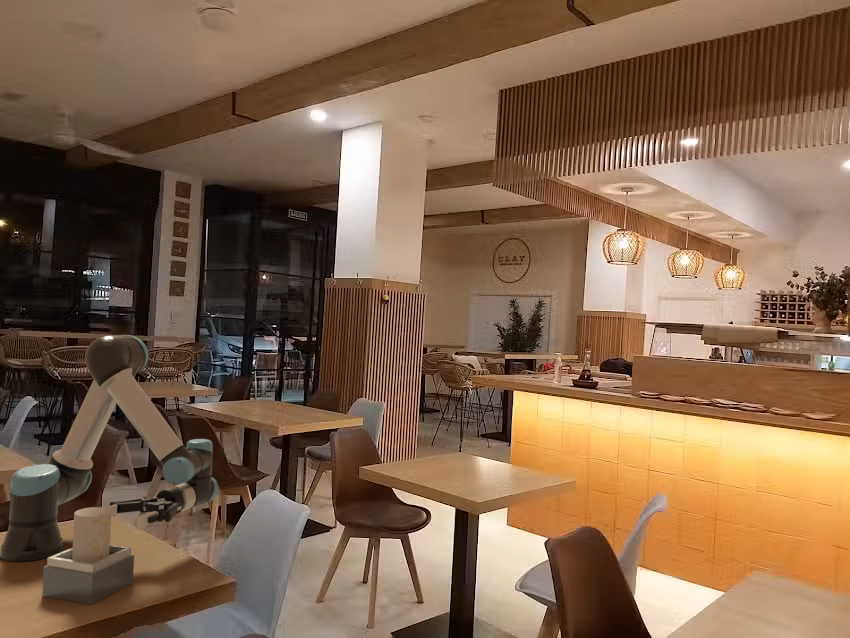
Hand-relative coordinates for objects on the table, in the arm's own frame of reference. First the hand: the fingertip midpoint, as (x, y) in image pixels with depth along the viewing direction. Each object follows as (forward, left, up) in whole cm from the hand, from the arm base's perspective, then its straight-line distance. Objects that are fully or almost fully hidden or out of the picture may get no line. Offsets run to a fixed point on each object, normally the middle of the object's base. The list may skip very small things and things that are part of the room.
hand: (115, 519), depth 168 cm
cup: (-1, -7, -8) cm, 11 cm away
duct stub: (-1, -7, -15) cm, 17 cm away
